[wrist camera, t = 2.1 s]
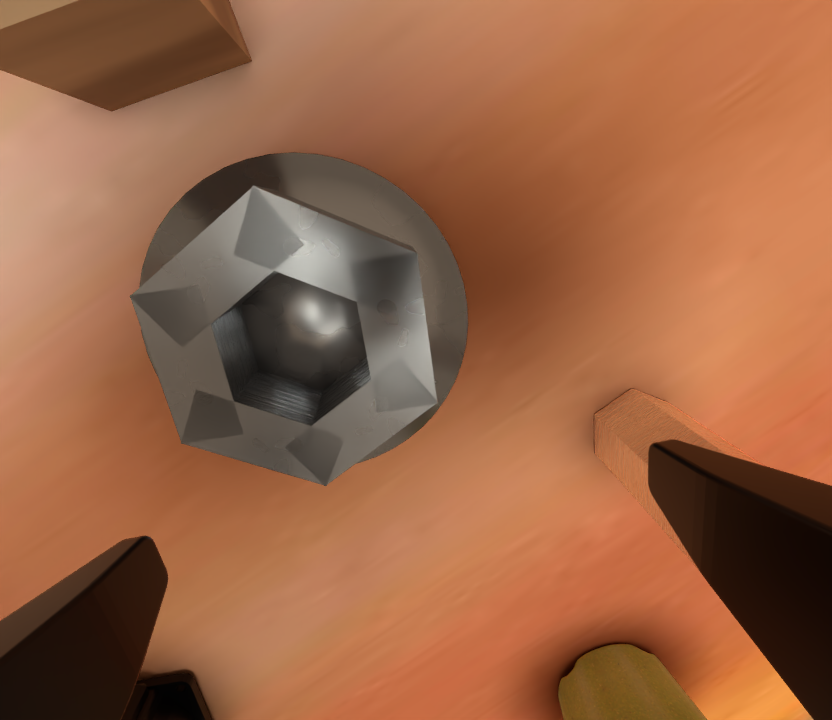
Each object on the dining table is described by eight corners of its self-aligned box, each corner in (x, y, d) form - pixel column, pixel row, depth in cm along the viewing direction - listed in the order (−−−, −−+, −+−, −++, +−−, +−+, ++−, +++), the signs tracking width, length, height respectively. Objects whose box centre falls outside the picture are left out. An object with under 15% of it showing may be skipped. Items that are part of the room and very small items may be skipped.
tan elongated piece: (665, 459, 21) (904, 666, 11) (594, 471, 21) (775, 689, 11) (669, 382, 19) (941, 542, 10) (593, 394, 19) (796, 567, 10)
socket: (520, 343, 18) (555, 377, 15) (303, 504, 20) (284, 572, 16) (325, 77, 15) (306, 31, 11) (82, 299, 17) (-7, 324, 13)
